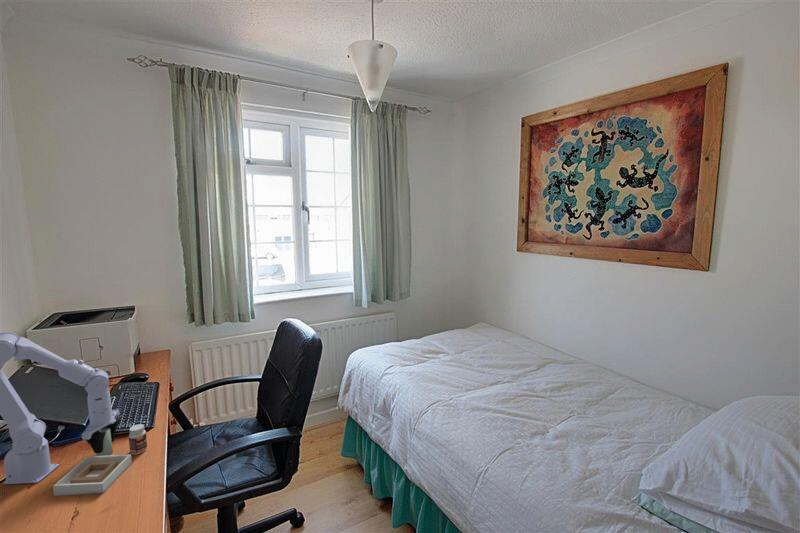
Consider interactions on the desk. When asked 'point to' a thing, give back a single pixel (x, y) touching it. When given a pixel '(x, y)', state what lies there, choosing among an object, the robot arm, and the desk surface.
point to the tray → (92, 475)
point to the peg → (106, 443)
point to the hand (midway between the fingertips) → (104, 447)
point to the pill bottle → (137, 439)
